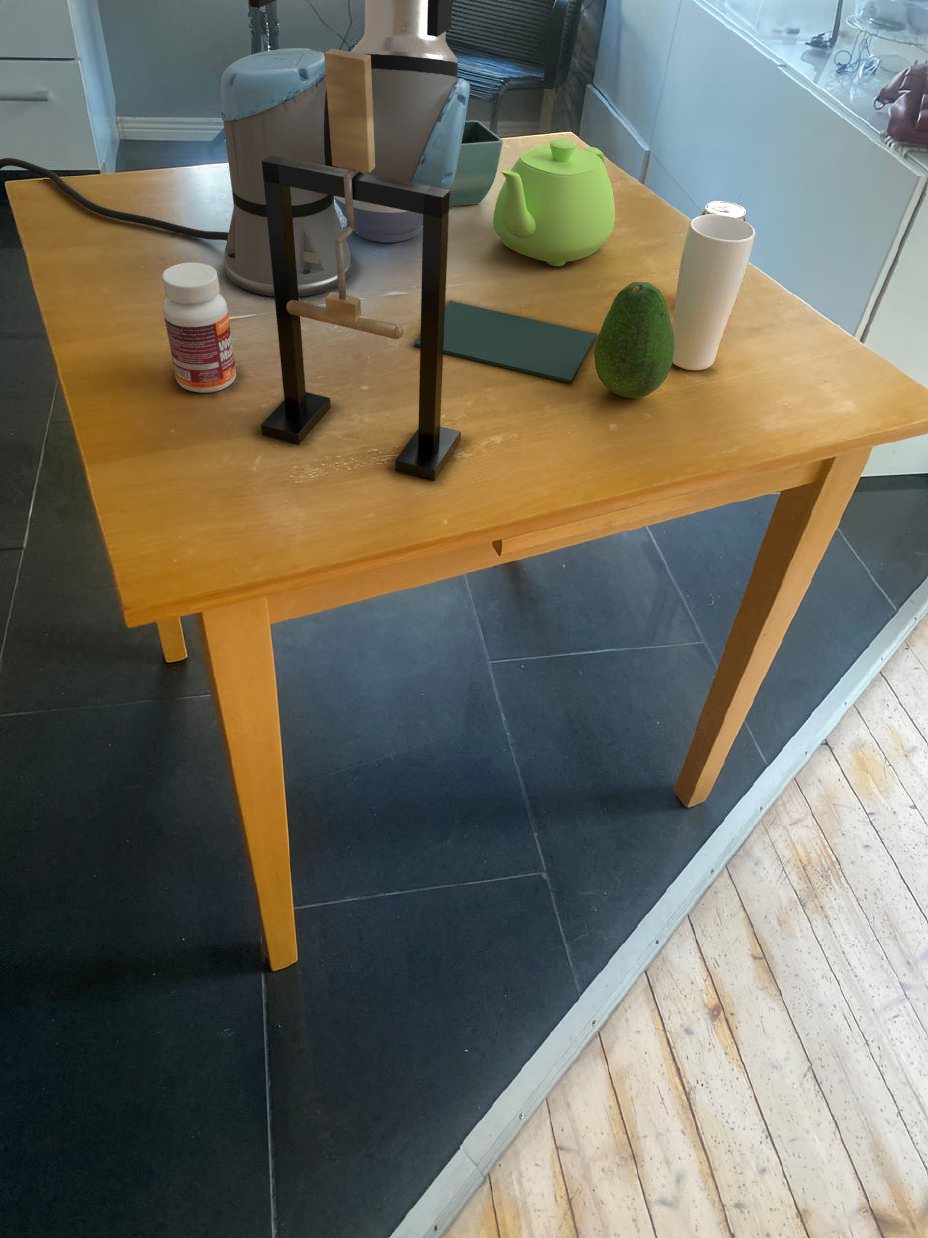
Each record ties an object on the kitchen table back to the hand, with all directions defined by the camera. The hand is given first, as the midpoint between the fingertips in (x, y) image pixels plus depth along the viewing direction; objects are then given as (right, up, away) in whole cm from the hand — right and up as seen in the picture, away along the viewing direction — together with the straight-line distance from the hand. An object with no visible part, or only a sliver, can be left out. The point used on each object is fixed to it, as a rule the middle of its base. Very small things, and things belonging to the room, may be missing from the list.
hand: (349, 17), depth 67 cm
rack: (-2, -25, +25) cm, 36 cm away
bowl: (-2, +9, +59) cm, 60 cm away
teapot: (+19, +6, +58) cm, 61 cm away
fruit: (+25, -19, +34) cm, 46 cm away
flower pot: (+7, +17, +68) cm, 70 cm away
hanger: (-1, -16, +16) cm, 22 cm away
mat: (+13, -11, +40) cm, 44 cm away
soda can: (+37, -5, +48) cm, 61 cm away
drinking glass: (+33, -14, +39) cm, 54 cm away
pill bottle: (-19, -18, +32) cm, 41 cm away
